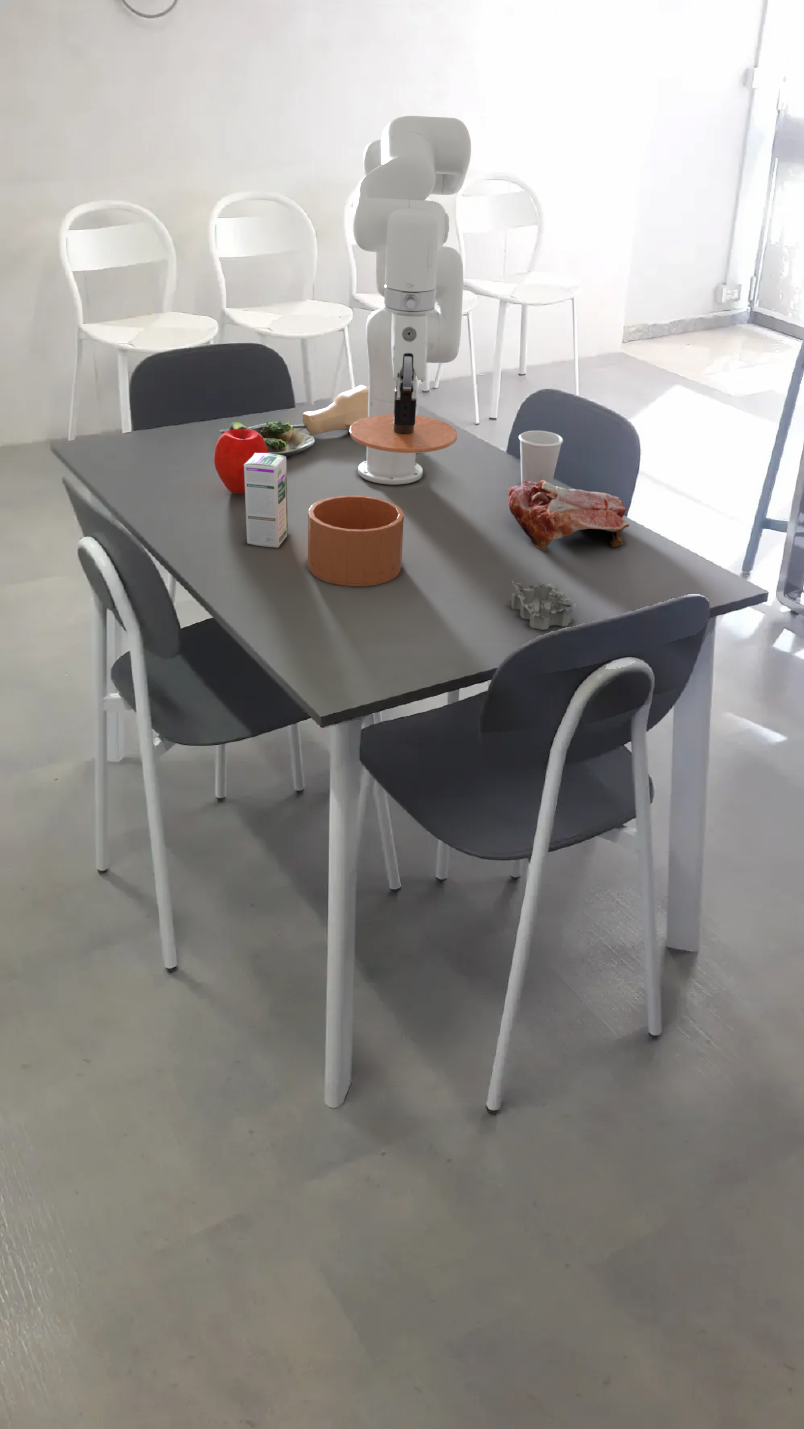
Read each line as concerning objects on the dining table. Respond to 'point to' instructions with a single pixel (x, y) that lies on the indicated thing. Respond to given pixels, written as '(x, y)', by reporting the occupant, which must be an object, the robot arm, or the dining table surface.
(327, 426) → the squash
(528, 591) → the egg carton
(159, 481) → the dining table surface
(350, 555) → the pot
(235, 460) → the apple
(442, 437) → the lid
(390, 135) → the robot arm
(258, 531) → the syrup box
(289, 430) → the salad plate
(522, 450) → the dixie cup
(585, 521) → the meat
